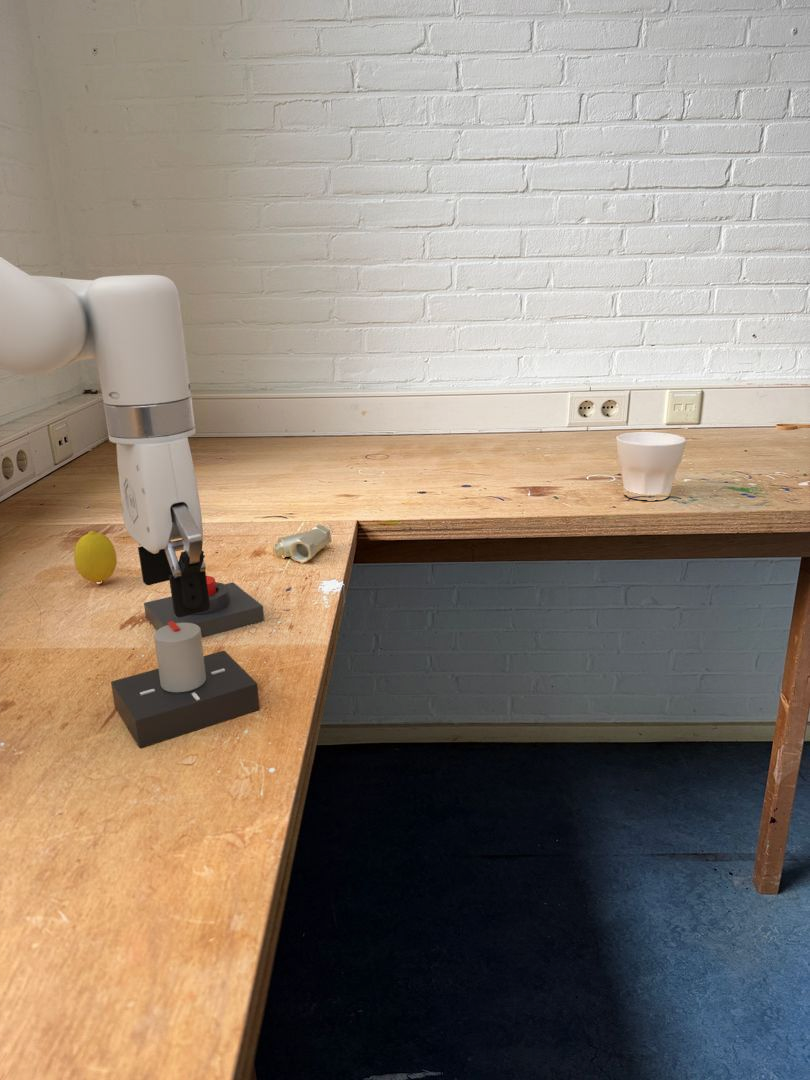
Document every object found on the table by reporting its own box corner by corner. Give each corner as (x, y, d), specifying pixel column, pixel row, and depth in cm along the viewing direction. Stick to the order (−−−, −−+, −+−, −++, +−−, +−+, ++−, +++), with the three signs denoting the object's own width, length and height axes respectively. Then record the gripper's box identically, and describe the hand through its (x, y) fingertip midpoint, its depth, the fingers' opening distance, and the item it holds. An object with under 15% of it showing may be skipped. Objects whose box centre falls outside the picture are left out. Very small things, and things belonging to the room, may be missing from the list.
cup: (690, 503, 146) (696, 444, 142) (622, 505, 146) (626, 445, 142) (668, 486, 157) (673, 430, 154) (605, 487, 157) (608, 432, 154)
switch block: (170, 647, 94) (166, 615, 93) (145, 618, 102) (141, 589, 101) (264, 622, 100) (261, 592, 99) (234, 597, 108) (231, 569, 107)
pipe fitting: (271, 564, 121) (312, 564, 119) (267, 539, 120) (308, 539, 118) (293, 547, 128) (332, 547, 126) (290, 524, 127) (329, 524, 125)
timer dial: (212, 684, 79) (206, 631, 77) (168, 697, 77) (161, 642, 75) (197, 667, 82) (191, 615, 81) (155, 679, 80) (147, 626, 78)
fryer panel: (139, 748, 74) (135, 718, 73) (114, 707, 81) (110, 679, 80) (260, 709, 80) (257, 681, 79) (227, 674, 87) (224, 648, 86)
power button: (192, 601, 98) (190, 588, 97) (182, 592, 100) (181, 579, 100) (220, 594, 99) (219, 581, 99) (210, 586, 102) (209, 573, 102)
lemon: (123, 586, 113) (116, 532, 110) (82, 594, 110) (73, 539, 108) (115, 574, 117) (108, 522, 115) (75, 582, 115) (67, 529, 112)
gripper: (85, 413, 76) (112, 579, 82) (135, 440, 63) (164, 638, 68) (162, 404, 80) (184, 563, 86) (226, 427, 66) (246, 615, 72)
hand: (175, 596), depth 77 cm, fingers open, 9 cm apart
